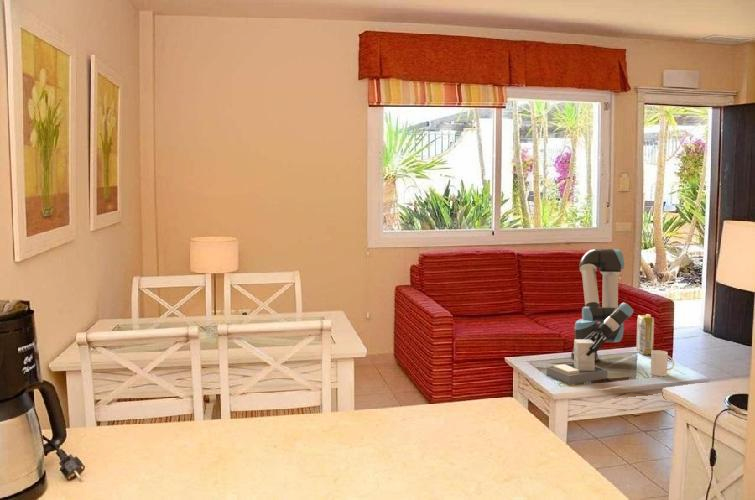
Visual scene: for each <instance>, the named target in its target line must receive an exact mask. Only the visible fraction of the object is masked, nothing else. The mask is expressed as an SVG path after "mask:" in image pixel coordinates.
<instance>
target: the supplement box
mask: <svg viewBox="0 0 755 500" xmlns="http://www.w3.org/2000/svg"><path fill="white" fill-rule="evenodd" d="M593 344H594V342H593V341H592V340H588V339H575V338H574V340H573V348H574V359H573V363H574V367H575V368H576V369H578V370H579V371H594V370H595V366H596V365H595V364H596V363H595V362H596V361H595V352H594V353H592V354H591V355H590V356H589V357H588V358H587V359H586V360H585V361H583V360H582V359H581V358H580V357H581V356H582V355H583V354H584V353H585V352H586V351H587V350H588V349H589V348H590V347H591V346H592V345H593Z"/></svg>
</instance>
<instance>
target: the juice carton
mask: <svg viewBox="0 0 755 500" xmlns="http://www.w3.org/2000/svg"><path fill="white" fill-rule="evenodd" d="M636 321H637V322H636V326H637V327H636V343H635V344H636V346H635V347H636V352H637V353H638V354H640V355H643V356H644V355H645V356H646V355H648V354H651V351H654V335H655V334H654V332H655V318H654V317H652V315H651V314H649V313H646V314H644V315H642V314H641V315H640V314H638V315H637V320H636ZM648 356H649V355H648Z"/></svg>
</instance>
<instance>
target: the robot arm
mask: <svg viewBox="0 0 755 500" xmlns="http://www.w3.org/2000/svg"><path fill="white" fill-rule="evenodd" d="M578 267H579V272H580V273H581V277H582V278H581V279H582V287H583V288H582V290H583V297H584V306H583V307H582V308H581V318H580V319H578V320H576V321H575V323H574V339H588V340H592V341H593V342H594V344H593V345H592V346H591V347H590V348H589V349H588V350H587V351H586V352H585V353H584V354H583V355H582V356H581V357H580V358H581V359H582V360H583V361H585V360H586V359H587V358H588V357H589V356H590V355H591V354H592V353H594V352H595V362H596V361H598V360H599V354H598V351H599V349H600V348H602V346H603V345H604V343H620V342H621V340H622V339H623V335H624V330H625V329H624V322H626V320H628V319H629V318H630V317H631V316H632V315H633V313H634V309H633V308H632V307H631V306H630V305H629V304H628V303H626V302H622V303H620V304H619V275H620V274H621V273H622V270H624V269H625V259H624V254H623V252H622V251H621V250H620V249H618V248H617V249H616V248H615V249H614V248H599V249H598V248H593V249H590V250H588V251H586V252H585V253H584V254H582V257H581V258H580V261H579V265H578ZM597 270H599V273H600V274H601V275H602V289H601V290H602V291H601V293H602V294H601V295H602V297H601V298H602V300H601V301H602V302H601V303H602V304H601V305H602V306H600V297H599V289H598V281H597V273H596V272H597ZM571 357H572V358H573V359H572V358H571ZM570 358H571V359H572V360H574V347H573V348H572V351H571V353H570Z"/></svg>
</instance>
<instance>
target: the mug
mask: <svg viewBox="0 0 755 500" xmlns="http://www.w3.org/2000/svg"><path fill="white" fill-rule="evenodd" d="M650 356H651V358H650V359H651V360H650V372H649V373H650V374H651V375H653V376H657V377H666V376H668V371H671V370H672V369H673V368H674V366H675V361H674V359H673V358H672V357H671V356H669V355H668V351H664V350H660V349H658V350H657V349H656V350H655V349H653V351H651V355H650ZM668 359H670V360H671V361H672V366H671V367H668Z"/></svg>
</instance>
